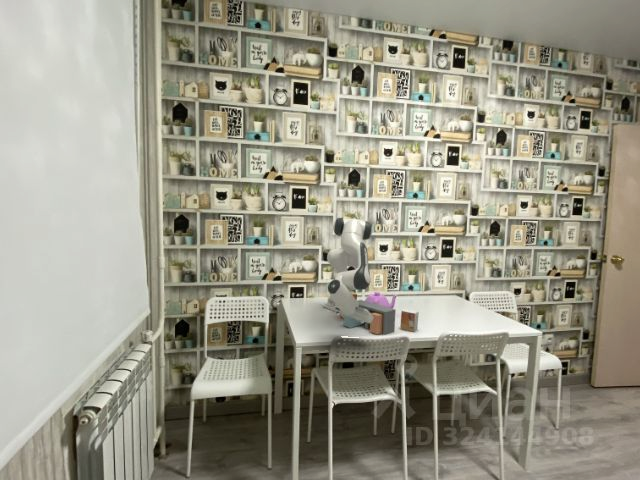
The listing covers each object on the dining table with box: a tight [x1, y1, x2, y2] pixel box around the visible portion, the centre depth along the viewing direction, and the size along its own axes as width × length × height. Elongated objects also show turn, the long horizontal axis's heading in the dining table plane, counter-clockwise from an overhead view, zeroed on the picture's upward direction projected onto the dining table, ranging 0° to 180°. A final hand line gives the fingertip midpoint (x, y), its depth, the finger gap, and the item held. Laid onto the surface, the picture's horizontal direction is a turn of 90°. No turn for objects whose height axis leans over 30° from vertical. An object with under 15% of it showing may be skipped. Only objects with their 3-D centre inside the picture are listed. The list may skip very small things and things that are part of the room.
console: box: [357, 299, 397, 335], centre depth 225 cm, size 8×25×12 cm, turn 42°
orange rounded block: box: [369, 312, 384, 335], centre depth 217 cm, size 9×5×10 cm, turn 132°
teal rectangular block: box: [343, 307, 363, 329], centre depth 226 cm, size 9×5×10 cm, turn 132°
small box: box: [399, 308, 420, 333], centre depth 223 cm, size 8×6×10 cm
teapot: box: [364, 291, 399, 309], centre depth 251 cm, size 22×22×14 cm
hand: (361, 321), depth 206 cm, fingers closed
